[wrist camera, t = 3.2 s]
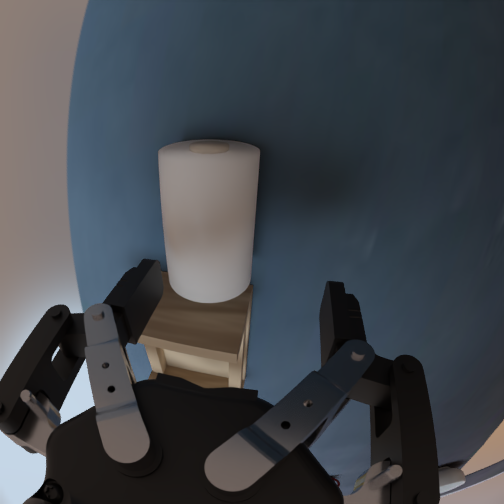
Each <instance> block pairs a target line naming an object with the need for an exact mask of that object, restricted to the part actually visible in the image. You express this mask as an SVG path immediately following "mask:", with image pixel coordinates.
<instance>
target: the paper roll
mask: <svg viewBox="0 0 504 504" xmlns="http://www.w3.org/2000/svg"><path fill="white" fill-rule="evenodd" d="M158 159H159V179H160V194H161V208H162V220H163V231H164V241H165V250H166V259H167V267H168V275H169V282H170V285H171V287H172V288H173V290H174V291H175V292H176V293H177V294H179V295H180V296H182V297H184V298H186V299H188V300H191V301H195V302H200V303H218V302H224V301H227V300H230V299H233V298H235V297H237V296H239V295H240V294H241V293H243V292H244V291H245V290H246V289H247V287H248V286H249V284H250V281H251V268H252V255H253V242H254V228H255V215H256V202H257V188H258V175H259V161H260V149H258V148H257V147H255V146H253V145H251V144H247V143H243V142H238V141H232V140H216V139H201V140H189V141H182V142H177V143H173V144H170V145H167V146H164V147H163V148H161V149H160V150H159V151H158Z"/></svg>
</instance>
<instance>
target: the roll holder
mask: <svg viewBox="0 0 504 504" xmlns="http://www.w3.org/2000/svg"><path fill="white" fill-rule="evenodd" d="M161 273H162V279H163V286H164V289H163V295H162V298H161V300H160V301H159V303H158V305H157V307H156V309H155V310H154V312H153V314H152V316H151V318H150V320H149V321H148V323H147V325H146V327H145V329H144V331H143V333H142V334H141V336H140V338H139V340H138V343H142V344H144V345H145V348H146V351H147V354H148V358H149V361H150V364H151V367H152V372H151V374H150V376H149V379H156V377H157V374H158V372H159V373H163V374H167V375H172V376H176V377H181V378H183V379H185V380H188V381H190V382H192V383H194V384H196V385H199V386H201V387H204V388H222V387H236V388H243V387H244V382H245V375H246V364H247V352H248V340H249V329H250V317H251V305H252V293H253V285H249V286H248V287H247V289H246V290H245V291H244V292H243V293H241V294H240V295H239V296H237V297H235V298H233V299H230V300H227V301H224V302H218V303H200V302H195V301H191V300H188V299H186V298H184V297H182V296H180V295H179V294H177V293H176V292H175V291H174V290H173V288H172V287H171V285H170V282H169V275H168V272H163V271H161Z"/></svg>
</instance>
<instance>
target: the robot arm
mask: <svg viewBox="0 0 504 504" xmlns="http://www.w3.org/2000/svg"><path fill="white" fill-rule="evenodd" d="M163 289H164V286H163V279H162V273H161V266H160V262H159V261H158V260H151V259H143V260H142V261H141V263H140V264H139V265H138V267H137V268H136V267H133V268H132V269H130V270H129V271H127V272H126V273H125V274H124V275H123V276H122V278H121V280H119V282H118V283H117V284H116V286H115V287H114V288H113V290H112V291H111V292H110V294H109V295H108V296H107V298H106V299H105V301H104V302H103V303H99V304H95V305H92V306H91V307H89V308H88V309H87V310H86V311H85V313H74V314H71V313H70V310H69V308H68V307H67V306H66V305H55V306H53V307H51V308H50V309H48V311H47V312H46V313H45V315H44V316H43V317H42V318H41V320H40V321H39V323H38V324H37V325H36V327H35V328H34V330H33V331H32V333H31V334H30V335H29V337H28V338H27V340H26V341H25V343H24V344H23V346H22V347H21V349H20V351H19V352H18V353H17V355H16V356H15V358H14V360H13V361H12V363H11V364H10V366H9V367H8V369H7V371H6V372H5V374H4V376H3V378H2V379H1V381H0V430H1V431H2V432H3V433H4V434H5V435H6V436H8V437H9V438H10V439H11V440H13V441H14V442H15V443H16V444H18V445H20V446H21V447H22V448H24V449H25V450H26V451H28V452H30V453H40V454H42V455H44V456H46V475H45V480H44V483H43V485H42V486H41V487H40V489H39V490H38V491H37V492H36V493H35V494H34V495H33V496H31V497H30V498H29V499H27V500H26V501H25V502H24V503H23V504H439V501H440V485H439V469H438V458H437V448H436V439H435V432H434V425H433V418H432V412H431V406H430V400H429V395H428V389H427V384H426V379H425V375H424V370H423V366H422V364H421V363H420V361H419V360H417V359H416V358H415V357H413V356H410V355H400V356H398V357H397V358H396V359H395V360H394V361H393V360H389V359H386V358H383V357H380V356H378V355H376V354H375V352H374V349H373V348H372V347H371V345H369V344H368V343H367V341H366V335H365V330H364V325H363V320H362V315H361V312H360V306H359V302H358V300H357V299H356V298H355V296H354V295H353V294H346V293H345V288H344V283H343V282H335V281H327V283H326V287H325V291H324V295H323V299H322V303H321V308H320V316H319V320H320V341H321V369H320V370H319V371H317V372H316V371H312V372H311V373H310V374H308V375H307V376H306V377H305V378H304V379H303V380H302V381H301V382H300V383H299V384H298V385H297V386H296V387H295V388H294V389H293V390H291V391H290V392H289V393H288V394H287V395H286V396H285V397H284V398H283V399H282V400H280V401H279V402H278V403H277V404H276V405H275V406H273V405H272V404H270V403H269V402H267V401H265V400H263V399H260V398H257V395H258V390H250V389H243V388H236V387H222V388H204V387H201V386H199V385H196V384H194V383H192V382H190V381H188V380H185V379H183V378H181V377H176V376H172V375H167V374H163V373H159V372H158V374H157V377H156V379H148V380H143V381H139V382H136V379H135V376H134V373H133V370H132V367H131V364H130V361H129V357H128V354H127V351H126V348H125V347H126V345H127V343H132V344H137V342H138V340H139V338H140V336H141V334H142V333H143V331H144V329H145V327H146V325H147V323H148V321H149V320H150V318H151V316H152V314H153V312H154V310H155V309H156V307H157V305H158V303H159V301H160V300H161V298H162V295H163ZM58 346H59V347H60V349H59V351H58V352H57V354H56V356H55V358H54V359H53V361H51V360H52V356H53V354H54V352H55V350H56V349H57V347H58ZM85 359H86V362H87V368H88V374H89V379H90V384H91V389H92V394H93V399H94V403H95V406H93V407H91V408H90V409H88V410H86V411H84V412H82V413H81V414H79V415H77V416H75V417H73V418H71V419H70V420H68V421H66V422H64V423H62V424H60V422H61V416H60V413H59V411H60V409H61V407H62V404H63V402H64V400H65V398H66V396H67V394H68V392H69V390H70V388H71V386H72V384H73V382H74V380H75V378H76V376H77V374H78V372H79V370H80V368H81V366H82V364H83V362H84V360H85ZM351 399H353V400H356V401H359V402H362V403H365V404H369V405H370V425H371V467H370V468H369V469H367V470H366V471H365V472H364V473H362V474H361V475H360V476H359V477H358V479H357V480H356V483H355V487H354V490H353V492H352V493H351V494H350V495H348V496H343V495H342V492H341V490H340V488H339V487H338V485H337V484H336V483H335V482H334V481H333V479H332V478H331V477H330V476H329V474H328V473H327V472H326V471H325V469H324V468H323V467H322V466H321V464H320V463H319V462H318V460H317V459H316V458H315V457H314V455H313V454H312V453H311V451H310V450H309V448H310V447H311V446H312V445H313V444H314V443H315V442H316V441H317V440H318V438H319V437H320V436H321V435H322V434H323V432H324V431H325V430H326V429H327V427H328V426H329V425H330V424H331V423H332V421H333V420H334V419H335V418H336V417H337V416H338V414H339V413H340V412H341V411H342V410H343V409H344V407H345V406H346V405H347V404H348V403H349V401H350V400H351Z"/></svg>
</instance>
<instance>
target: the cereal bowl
mask: <svg viewBox="0 0 504 504" xmlns="http://www.w3.org/2000/svg"><path fill="white" fill-rule="evenodd" d="M438 469H439V485H440V493H443V492H446V491H449V490H451V489H454V488H456V487H458V486H460V485H462V484H463V483H465V475H464V473H463V471H462V470H460V469H458V468H450V467H441V468H438Z"/></svg>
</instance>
